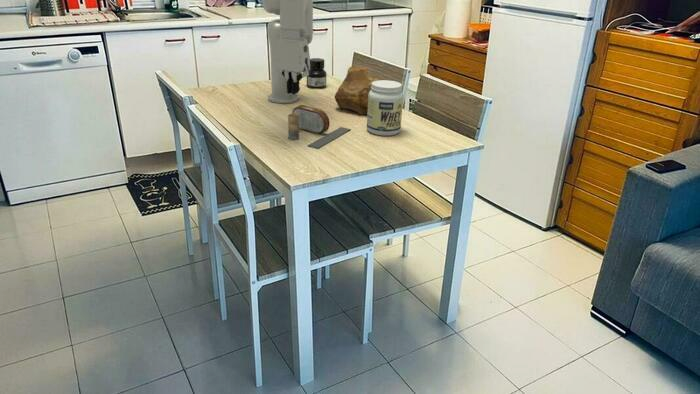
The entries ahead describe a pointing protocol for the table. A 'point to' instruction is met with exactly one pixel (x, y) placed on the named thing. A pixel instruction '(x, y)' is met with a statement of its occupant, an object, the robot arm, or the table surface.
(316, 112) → the tin
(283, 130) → the table surface
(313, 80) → the ink bottle
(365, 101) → the rough brown rock
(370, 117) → the supplement tub
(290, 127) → the tan and grey cylinder
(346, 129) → the strip
